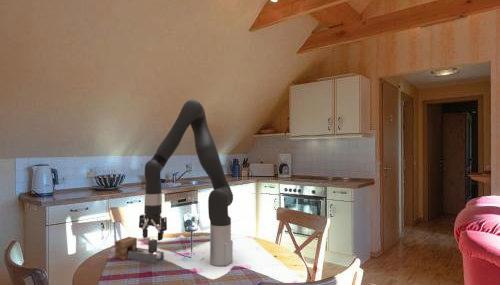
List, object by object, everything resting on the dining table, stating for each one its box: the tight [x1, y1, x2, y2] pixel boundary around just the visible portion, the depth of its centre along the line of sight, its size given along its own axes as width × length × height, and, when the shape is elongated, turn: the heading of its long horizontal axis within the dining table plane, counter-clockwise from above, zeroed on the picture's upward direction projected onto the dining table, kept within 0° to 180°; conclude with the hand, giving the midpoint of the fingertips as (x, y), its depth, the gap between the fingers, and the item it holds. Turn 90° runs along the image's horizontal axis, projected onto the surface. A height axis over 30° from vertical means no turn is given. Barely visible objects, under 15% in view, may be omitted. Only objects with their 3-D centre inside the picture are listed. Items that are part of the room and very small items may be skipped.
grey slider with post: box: [136, 238, 162, 259], centre depth 148 cm, size 13×3×8 cm, turn 66°
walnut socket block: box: [114, 236, 138, 260], centre depth 154 cm, size 5×8×8 cm, turn 156°
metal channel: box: [127, 247, 165, 265], centre depth 149 cm, size 16×6×4 cm, turn 66°
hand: (152, 238), depth 148 cm, fingers open, 8 cm apart
